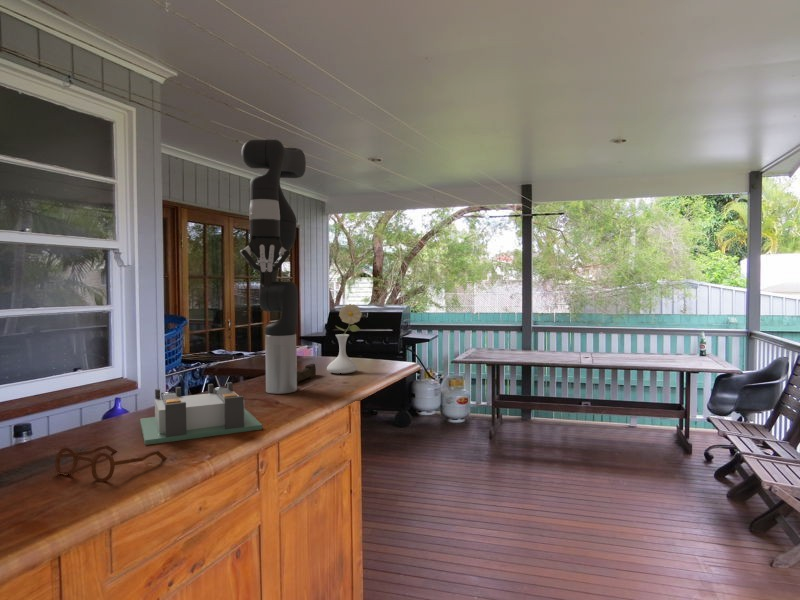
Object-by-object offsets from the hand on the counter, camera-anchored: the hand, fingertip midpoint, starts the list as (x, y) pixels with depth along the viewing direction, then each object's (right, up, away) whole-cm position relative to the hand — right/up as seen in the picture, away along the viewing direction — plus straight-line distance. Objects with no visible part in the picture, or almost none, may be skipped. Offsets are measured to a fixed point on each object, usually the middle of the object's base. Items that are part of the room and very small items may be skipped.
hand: (265, 286), depth 138 cm
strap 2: (-7, -27, -11) cm, 30 cm away
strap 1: (-17, -27, -16) cm, 36 cm away
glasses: (-18, -34, -40) cm, 55 cm away
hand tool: (+1, -31, +44) cm, 53 cm away
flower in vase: (+14, -30, +57) cm, 66 cm away
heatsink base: (-12, -33, -13) cm, 37 cm away
